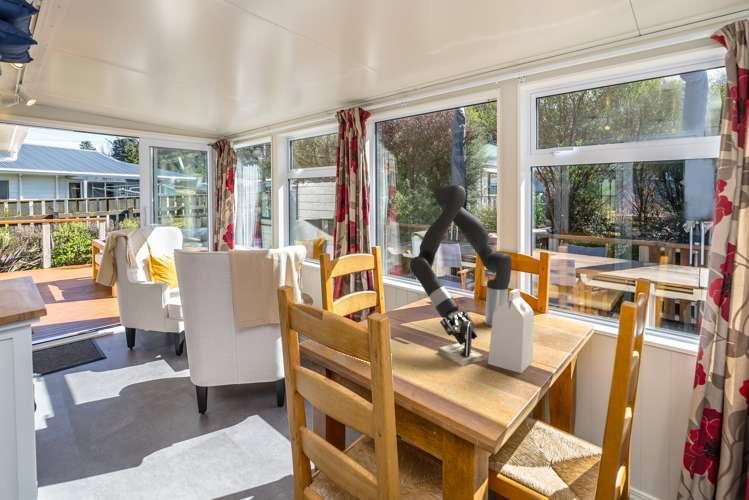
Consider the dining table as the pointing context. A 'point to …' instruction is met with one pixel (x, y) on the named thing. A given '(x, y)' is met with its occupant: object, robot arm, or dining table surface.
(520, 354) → the milk
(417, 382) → the dining table surface
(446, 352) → the board
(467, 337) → the dark upright piece
